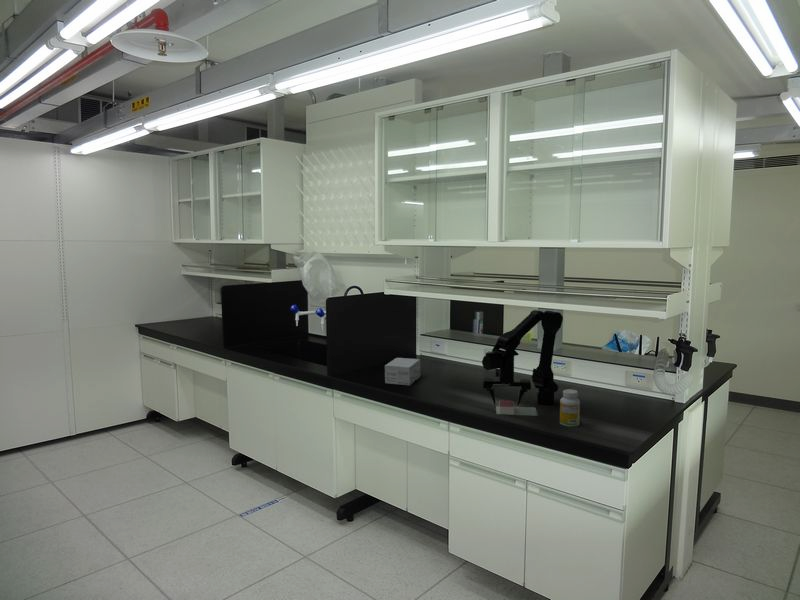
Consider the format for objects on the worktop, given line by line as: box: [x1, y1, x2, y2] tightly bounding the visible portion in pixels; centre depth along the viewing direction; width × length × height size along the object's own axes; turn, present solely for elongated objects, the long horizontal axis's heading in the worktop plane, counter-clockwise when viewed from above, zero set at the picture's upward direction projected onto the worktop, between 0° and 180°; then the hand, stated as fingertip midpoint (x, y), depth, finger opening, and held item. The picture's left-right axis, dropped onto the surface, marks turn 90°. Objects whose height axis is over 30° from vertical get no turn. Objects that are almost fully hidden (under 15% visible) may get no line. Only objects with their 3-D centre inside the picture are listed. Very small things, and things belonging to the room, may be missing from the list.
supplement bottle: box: [559, 388, 581, 427], centre depth 199 cm, size 7×7×13 cm
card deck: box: [498, 399, 515, 416], centre depth 214 cm, size 8×6×3 cm
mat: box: [495, 405, 538, 417], centre depth 215 cm, size 16×10×1 cm, turn 81°
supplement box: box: [384, 357, 421, 386], centre depth 265 cm, size 17×13×9 cm
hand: (506, 404), depth 214 cm, fingers open, 9 cm apart
